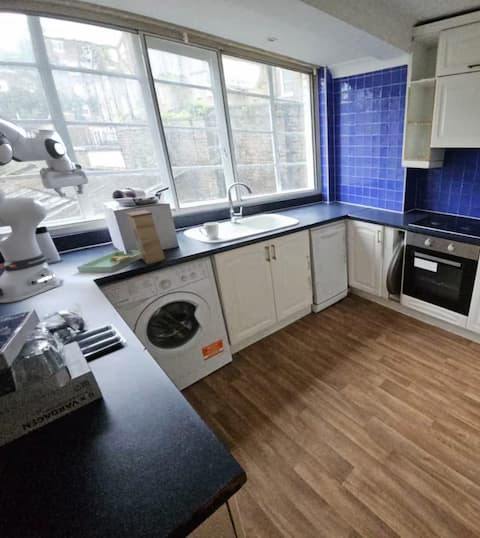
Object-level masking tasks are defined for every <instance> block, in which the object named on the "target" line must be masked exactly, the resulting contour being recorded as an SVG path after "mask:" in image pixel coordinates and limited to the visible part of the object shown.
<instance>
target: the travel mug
mask: <svg viewBox="0 0 480 538" xmlns="http://www.w3.org/2000/svg"><path fill="white" fill-rule="evenodd" d="M35 236H36V240H37V243H38V246H39V248H40V250H41V252H42V253H43V254H44V255H45V257H46V259H47V264H48V265H53V264H57V263H60V262H62V258H61V257H60V254H59V252H58V250H57V247H56V246H55V243H54V241H53V239H52V237H51V235H50V232H49V230H48V229H47V226H46V225H45V226H43V225H42V226H37V228H36V232H35Z"/></svg>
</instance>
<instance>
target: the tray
mask: <svg viewBox="0 0 480 538" xmlns="http://www.w3.org/2000/svg"><path fill="white" fill-rule="evenodd" d="M124 251H125V250H114V251H111V252H109V253H107V254H105V255H102V256H100V257H97V258H95V259H93V260H90V261H88V262H85V263H83V264H81V265H78V266H76V268H77V271H78V273H114V272H116V271H118V270H121V269H123V268H125V267H127V266H129V265H131V264H133V263H135V262H137V261H139V260H142V258H141V255H140V252H139V250H131V251H132V254H124ZM114 256H119V257H125V256H130V257H131V258H130V259H128V260H125V261H122V262H117V261H116V260H110V258H111V257H114Z"/></svg>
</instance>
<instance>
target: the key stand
mask: <svg viewBox="0 0 480 538" xmlns="http://www.w3.org/2000/svg"><path fill="white" fill-rule="evenodd" d="M125 216H126V217H127V219H128V222H129V225H130V228H131V231H132V235H133V238H134V240H135V243H136V245H137V249H138V251H139V252H140V255H141V260H142V262H145V263H146V264H148V265H151V264H154V263H158V262H161V261H165V260H166V257H165V254H164V250H163V247H162V245H161V241H160V238H159V234H158V231H157V228H156V225H155V221H154V218H153V212H151V211H148V210H146V209H143V210H136V211H131V212H125Z"/></svg>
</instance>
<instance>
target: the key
mask: <svg viewBox="0 0 480 538" xmlns="http://www.w3.org/2000/svg"><path fill="white" fill-rule="evenodd" d="M130 258H131V257H130V256H125V257H119V256H114V257H111V258H110V260H116V261H117V262H122V261H125V260H128V259H130Z"/></svg>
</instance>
